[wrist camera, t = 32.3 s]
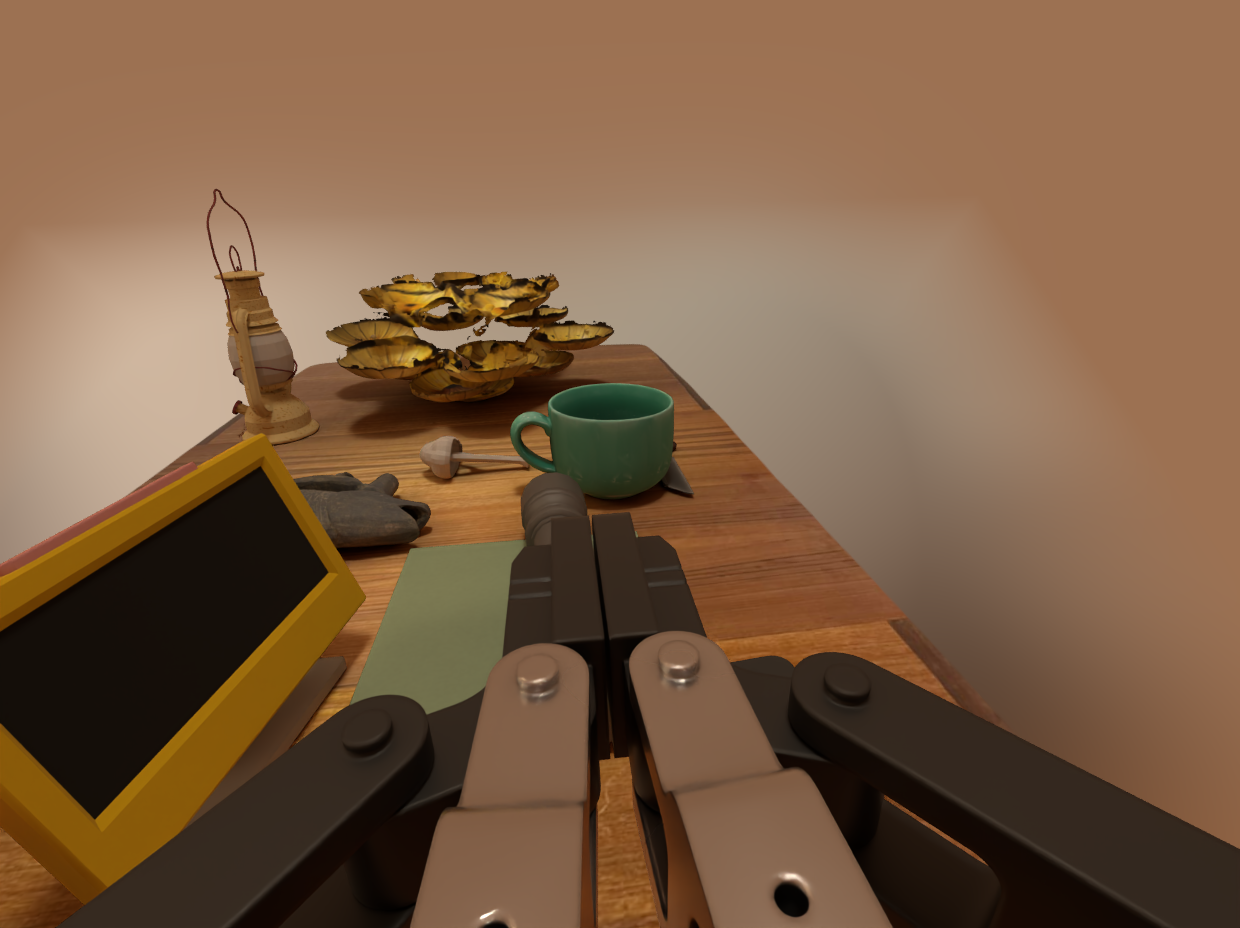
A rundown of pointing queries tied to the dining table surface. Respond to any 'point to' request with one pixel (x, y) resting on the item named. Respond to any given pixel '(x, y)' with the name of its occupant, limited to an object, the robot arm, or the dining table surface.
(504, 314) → the mushroom
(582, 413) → the mug
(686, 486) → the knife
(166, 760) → the yellow framed monitor
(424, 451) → the mushroom
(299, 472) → the dining table surface
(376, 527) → the ceramic vessel
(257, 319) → the lantern
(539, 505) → the candle holder
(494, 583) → the mat
